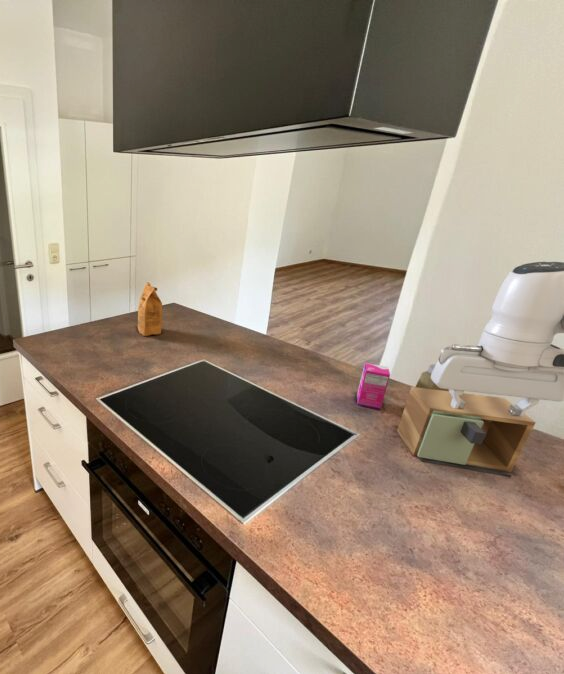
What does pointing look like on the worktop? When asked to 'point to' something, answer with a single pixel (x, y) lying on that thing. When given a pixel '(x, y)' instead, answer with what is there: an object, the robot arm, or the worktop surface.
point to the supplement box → (373, 386)
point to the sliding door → (451, 438)
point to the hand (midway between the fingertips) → (485, 411)
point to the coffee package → (149, 312)
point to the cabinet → (499, 425)
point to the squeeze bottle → (428, 380)
